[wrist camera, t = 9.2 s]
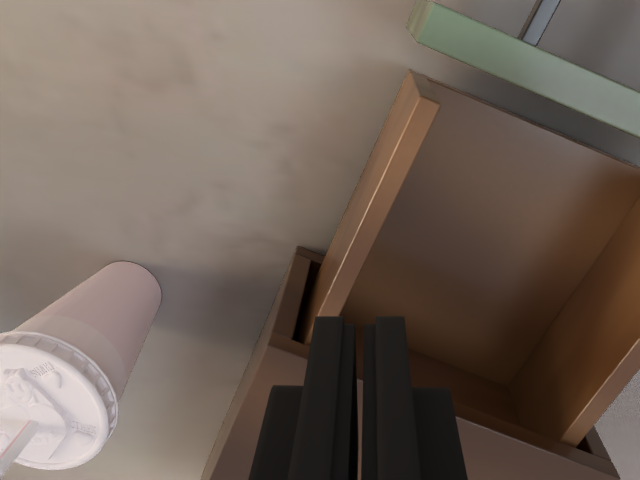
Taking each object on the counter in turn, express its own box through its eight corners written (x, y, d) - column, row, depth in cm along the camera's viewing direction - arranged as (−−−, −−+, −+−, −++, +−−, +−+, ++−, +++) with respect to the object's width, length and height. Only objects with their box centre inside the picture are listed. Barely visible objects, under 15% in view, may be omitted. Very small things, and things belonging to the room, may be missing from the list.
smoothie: (91, 343, 32) (-93, 570, 20) (56, 242, 30) (-180, 430, 17) (196, 337, 32) (76, 571, 19) (170, 233, 29) (10, 423, 16)
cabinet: (297, 245, 29) (267, 344, 21) (556, 347, 30) (621, 479, 22) (205, 464, 36) (156, 601, 28) (418, 540, 37) (429, 694, 29)
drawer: (474, -134, 21) (517, -188, 14) (793, 12, 22) (964, 22, 15) (287, 302, 29) (262, 388, 23) (522, 393, 30) (561, 500, 24)
